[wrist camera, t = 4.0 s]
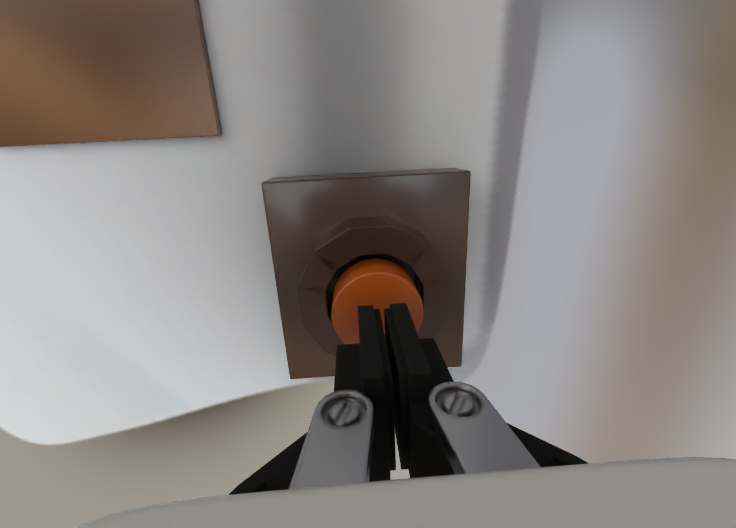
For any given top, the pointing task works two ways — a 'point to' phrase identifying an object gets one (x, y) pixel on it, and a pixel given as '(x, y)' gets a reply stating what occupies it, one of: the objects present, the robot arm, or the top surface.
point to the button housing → (366, 251)
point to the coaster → (103, 72)
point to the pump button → (372, 295)
